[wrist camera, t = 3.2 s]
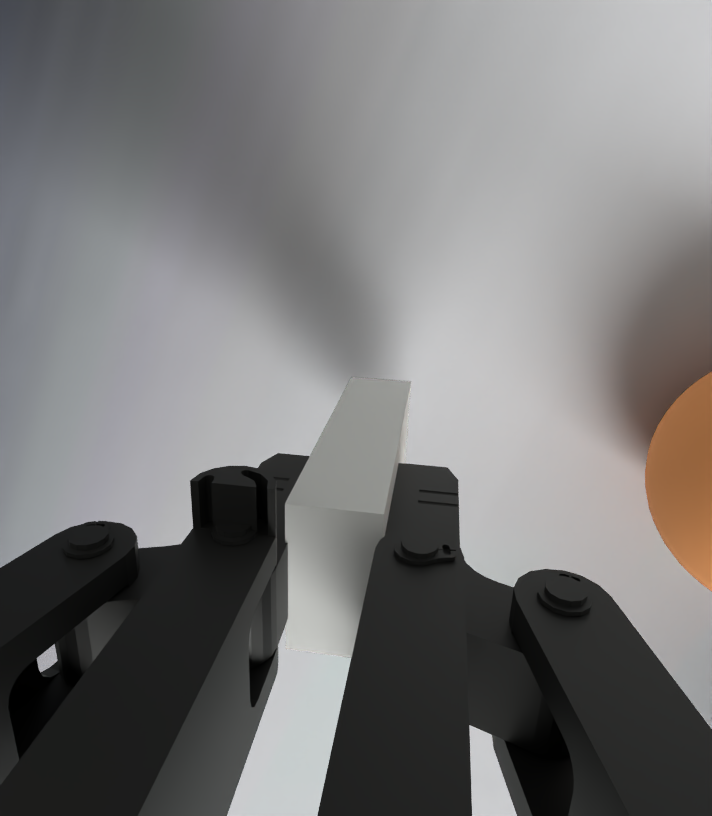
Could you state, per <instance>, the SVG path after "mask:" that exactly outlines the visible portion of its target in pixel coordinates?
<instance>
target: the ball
mask: <svg viewBox="0 0 712 816" xmlns="http://www.w3.org/2000/svg"><path fill="white" fill-rule="evenodd" d="M645 487H646V493H647V499H648V504H649V509H650V512H651V515H652V518H653V521H654V523H655V525H656V527H657V530H658V531H659V533H660V535H661V537H662V539H663V541H664V543H665V544H666V546H667V547H668V548H669V550H670V551H671V552H672V554H673V555H674V556H675V558H676V559H677V560H678V562H679V563H680V564H681V565H682V566H683V567H684V568H685V569H686V570H687V571H688V572H689V573H690V574H691V575H692V576H693V577H694V578H695V579H697V580H698V581H699V582H700V583H701V584H703V585H704V586H705V587H707V588H708V589H709V590H711V591H712V372H710V373H709V374H707V375H705V376H704V377H702V378H701V379H699V380H698V381H697V382H695V383H694V384H693V385H691V386H690V387H689V388H688V389H686V390H685V391H684V392H683V393H682V394H681V395H680V396H679V397H678V398H677V399H676V400H675V402H674V403H673V404H672V405H671V407H670V408H669V409H668V410H667V411H666V413H665V415H664V416H663V418H662V419H661V421H660V423H659V424H658V426H657V428H656V431H655V433H654V435H653V437H652V440H651V443H650V447H649V450H648V455H647V462H646V469H645Z"/></svg>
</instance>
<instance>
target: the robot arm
mask: <svg viewBox="0 0 712 816" xmlns="http://www.w3.org/2000/svg"><path fill="white" fill-rule="evenodd" d="M410 391H411V382H410V381H397V380H384V379H371V378H359V377H351V379H350V381H349V382H348V384H347V386H346V388H345V390H344V392H343V394H342V396H341V398H340V400H339V402H338V403H337V405H336V407H335V409H334V411H333V413H332V415H331V417H330V419H329V421H328V422H327V424H326V426H325V428H324V430H323V432H322V434H321V436H320V438H319V440H318V442H317V443H316V445H315V447H314V449H313V451H312V453H311V455H310V456H301V455H290V454H280V453H278V454H276V455H274V456H273V457H271V458H269V459H267V460H266V461H264V462H262V463H261V464H260V466H259V467H258V468H253V467H248V466H226V467H220V468H214V469H211V470H208V471H206V472H203V473H200V474H199V475H197V476H196V477H194V478H193V479H192V480H190V485H191V500H192V516H193V529H192V530H191V532H190V533H189V534H188V536H187V537H186V538H185V540H184V541H183V542H182V544H179V545H172V546H164V547H151V548H139V549H138V543H137V536H136V534H135V533H134V531H133V529H132V528H130V527H128V526H126V525H124V524H121V523H115V522H107V521H98V522H96V521H94V522H87V523H84V524H81V525H78V526H74V527H70V528H68V529H66V530H64V531H62V532H60V533H57V534H55V535H54V536H52V537H50V538H49V539H47V540H46V541H44V542H42V543H41V544H39V545H37V546H36V547H34V548H32V549H31V550H29V551H28V552H26V553H24V554H23V555H21V556H19V557H18V558H16V559H14V560H13V561H11V562H9V563H8V564H6V565H5V566H3V567H1V568H0V816H227V813H228V811H229V808H230V805H231V802H232V799H233V796H234V794H235V791H236V788H237V785H238V782H239V779H240V777H241V774H242V771H243V768H244V765H245V763H246V760H247V757H248V754H249V751H250V748H251V746H252V743H253V740H254V737H255V734H256V731H257V729H258V726H259V723H260V720H261V717H262V714H263V712H264V709H265V706H266V703H267V700H268V698H269V695H270V692H271V689H272V686H273V683H274V681H275V678H276V675H277V670H278V643H279V641H280V638H281V635H282V633H283V630H284V627H285V625H286V649H289V650H297V651H304V652H311V653H319V654H326V655H333V656H341V657H348V658H351V663H350V667H349V672H348V677H347V681H346V686H345V690H344V695H343V700H342V704H341V709H340V714H339V718H338V723H337V728H336V732H335V737H334V742H333V746H332V751H331V755H330V760H329V765H328V769H327V774H326V779H325V783H324V788H323V793H322V797H321V802H320V807H319V811H318V816H472V803H471V770H470V736H469V725H471V726H473V727H476V728H478V729H480V730H483V731H485V732H487V733H489V734H492V738H493V746H494V750H495V753H496V756H497V759H498V762H499V765H500V768H501V770H502V773H503V776H504V779H505V782H506V785H507V788H508V791H509V793H510V796H511V799H512V802H513V805H514V808H515V811H516V814H517V816H712V729H711V728H710V727H709V725H708V724H707V723H706V721H705V720H704V719H703V717H702V716H701V715H700V713H699V712H698V711H697V709H696V708H695V707H694V705H693V704H692V703H691V701H690V700H689V699H688V698H687V696H686V695H685V694H684V692H683V691H682V690H681V688H680V687H679V686H678V684H677V683H676V682H675V680H674V679H673V678H672V676H671V675H670V674H669V672H668V671H667V670H666V668H665V667H664V666H663V664H662V663H661V662H660V661H659V659H658V658H657V657H656V655H655V654H654V653H653V651H652V650H651V649H650V647H649V646H648V645H647V643H646V642H645V641H644V639H643V638H642V637H641V635H640V634H639V633H638V631H637V630H636V629H635V628H634V626H633V625H632V624H631V622H630V621H629V620H628V618H627V617H626V616H625V614H624V613H623V612H622V610H621V609H620V608H619V606H618V605H617V604H616V602H615V601H614V600H613V598H612V597H611V596H610V595H609V594H608V593H607V592H606V591H604V590H603V589H602V588H601V587H600V586H599V585H597V584H596V583H594V582H592V581H590V580H588V579H586V578H585V577H583V576H580V575H577V574H574V573H570V572H567V571H562V570H550V569H543V570H537V571H530V572H528V573H526V574H525V575H523V576H521V577H520V578H518V580H517V582H516V584H515V586H514V587H511V586H507V585H504V584H501V583H498V582H496V581H493V580H491V579H488V578H486V577H484V576H483V575H481V574H479V573H477V572H476V571H474V570H473V569H472V568H471V567H470V566H469V565H468V564H467V563H466V562H465V560H464V556H463V554H462V551H461V548H460V539H459V497H458V479H457V478H456V477H455V476H454V475H453V474H452V472H451V471H450V470H449V469H448V468H446V467H436V466H425V465H415V464H405V462H406V448H407V433H408V419H409V405H410ZM53 644H55V648H56V653H57V659H58V661H57V662H56V663H55V664H53V665H52V666H51V667H50V668H48V669H46V670H45V671H43V672H41V673H40V671H39V669H38V664H37V657H38V656H40V655H41V654H42V653H43V652H45V651H46V650H47V649H48V648H50V647H51V646H52V645H53Z"/></svg>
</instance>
